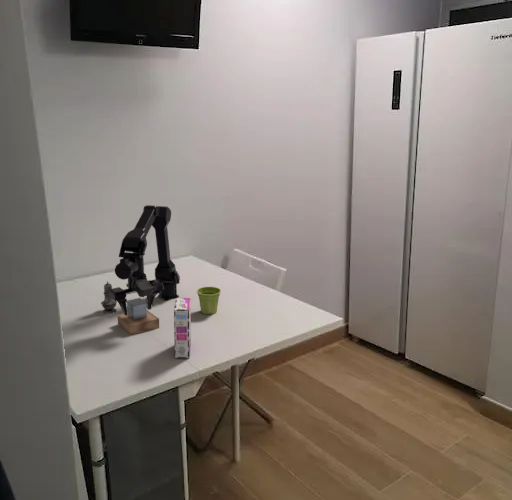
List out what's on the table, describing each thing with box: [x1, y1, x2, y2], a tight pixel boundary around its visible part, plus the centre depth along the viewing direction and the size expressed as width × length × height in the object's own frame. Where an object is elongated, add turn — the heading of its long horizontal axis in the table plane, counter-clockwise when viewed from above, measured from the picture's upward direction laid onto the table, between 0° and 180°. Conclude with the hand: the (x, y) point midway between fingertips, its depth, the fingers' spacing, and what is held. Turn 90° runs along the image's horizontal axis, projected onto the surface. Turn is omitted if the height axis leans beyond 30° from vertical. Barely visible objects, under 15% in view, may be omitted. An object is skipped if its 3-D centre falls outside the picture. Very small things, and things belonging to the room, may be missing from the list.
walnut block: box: [116, 309, 160, 336], centre depth 187 cm, size 11×11×4 cm
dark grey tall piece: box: [100, 280, 118, 314], centre depth 200 cm, size 6×6×12 cm
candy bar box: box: [173, 297, 192, 359], centre depth 167 cm, size 11×5×16 cm, turn 5°
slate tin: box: [126, 297, 148, 321], centre depth 186 cm, size 5×5×6 cm
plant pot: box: [196, 286, 222, 315], centre depth 201 cm, size 9×9×9 cm
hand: (137, 312), depth 186 cm, fingers open, 9 cm apart
